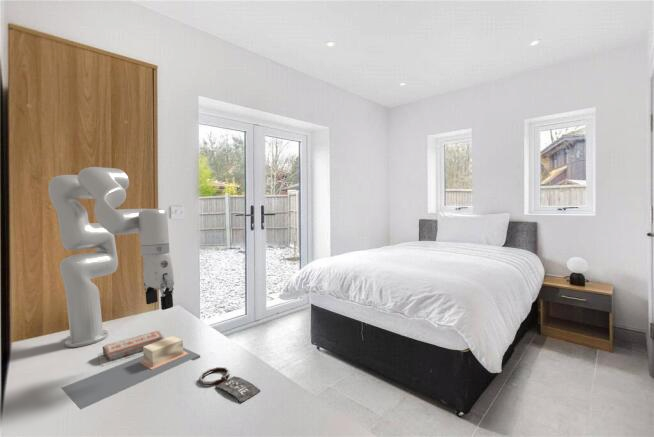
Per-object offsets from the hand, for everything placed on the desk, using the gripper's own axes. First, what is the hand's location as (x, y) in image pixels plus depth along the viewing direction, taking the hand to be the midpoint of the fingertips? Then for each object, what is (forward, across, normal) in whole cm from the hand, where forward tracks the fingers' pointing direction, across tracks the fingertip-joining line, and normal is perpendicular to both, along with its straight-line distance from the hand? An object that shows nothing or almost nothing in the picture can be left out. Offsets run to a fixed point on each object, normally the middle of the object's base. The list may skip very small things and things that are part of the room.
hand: (159, 305), depth 96 cm
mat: (+17, -1, +8) cm, 19 cm away
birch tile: (+16, 0, 0) cm, 16 cm away
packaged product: (+18, +14, +3) cm, 23 cm away
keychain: (+17, -29, -2) cm, 34 cm away
